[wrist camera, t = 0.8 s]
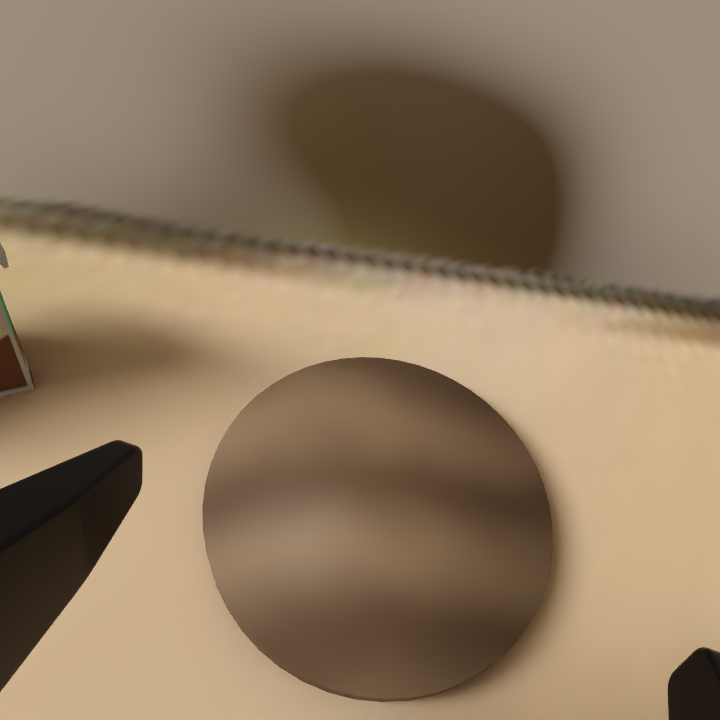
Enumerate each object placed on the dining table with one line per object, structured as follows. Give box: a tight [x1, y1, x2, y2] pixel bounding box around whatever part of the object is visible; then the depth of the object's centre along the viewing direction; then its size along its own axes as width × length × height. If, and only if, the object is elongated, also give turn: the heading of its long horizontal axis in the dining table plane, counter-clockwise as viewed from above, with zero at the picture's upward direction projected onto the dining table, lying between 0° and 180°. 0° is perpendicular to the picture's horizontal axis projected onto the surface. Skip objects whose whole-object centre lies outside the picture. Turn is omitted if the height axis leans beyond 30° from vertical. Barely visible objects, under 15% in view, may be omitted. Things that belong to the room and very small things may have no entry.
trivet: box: [203, 357, 553, 702], centre depth 26 cm, size 16×16×1 cm
